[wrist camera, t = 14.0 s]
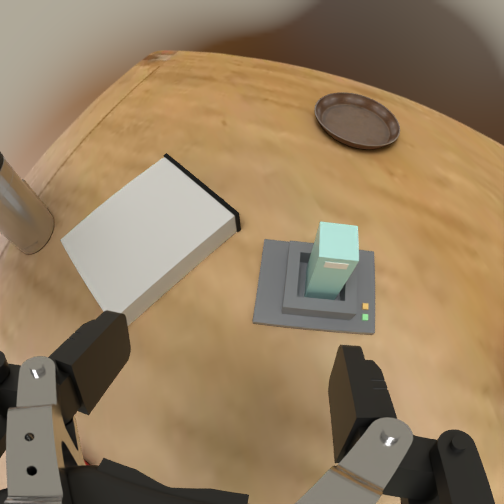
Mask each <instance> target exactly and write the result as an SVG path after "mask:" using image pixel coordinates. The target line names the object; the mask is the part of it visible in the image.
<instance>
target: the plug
mask: <svg viewBox="0 0 504 504" xmlns="http://www.w3.org/2000/svg"><path fill="white" fill-rule="evenodd" d="M358 262H359V243H358V226H353V225H345V224H336V223H327V222H320V224H319V227H318V231H317V234H316V238H315V241H314V245H313V248H312V252H311V255H310V259H309V262H308V265H307V269H306V279H305V293H304V297H308V298H318V299H328V300H335V298H336V297H337V295H338V294H339V292H340V291H341V289H342V288H343V286H344V284H345V283H346V281H347V280H348V278H349V276H350V275H351V273H352V272H353V270H354V268H355V267H356V265H357V263H358Z"/></svg>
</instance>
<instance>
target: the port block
mask: <svg viewBox="0 0 504 504" xmlns="http://www.w3.org/2000/svg"><path fill="white" fill-rule="evenodd" d="M313 245H314V243H307V242H298V241H290V242H286V241H277V240H268V239H265V240H264V247H263V254H262V261H261V268H260V275H259V282H258V289H257V295H256V302H255V309H254V316H253V324H260V325H269V326H277V327H286V328H295V329H305V330H316V331H327V332H339V333H352V334H367V335H373V334H374V333H375V266H374V252H373V251H364V250H359V262H358V263H357V265H356V267H355V268H354V270H353V272H352V273H351V275H350V276H349V278H348V280H347V281H346V283H345V284H344V286H343V288H342V289H341V291H340V292H339V294H338V295H337V297H336V298H335V300H328V299H318V298H308V297H304V293H305V279H306V269H307V265H308V262H309V259H310V255H311V252H312V248H313Z"/></svg>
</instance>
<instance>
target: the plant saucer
mask: <svg viewBox="0 0 504 504" xmlns="http://www.w3.org/2000/svg"><path fill="white" fill-rule="evenodd" d="M315 115H316V117H317V119H318V121H319V123H320V124H321V126H322V127H323V128H324V129H325V131H326V132H327V133H328V134H330V135H331V136H332V137H333V138H335V139H336V140H338V141H339V142H341V143H343V144H346V145H348V146H351V147H355V148H360V149H376V148H380V147H383V146H386V145H388V144H390V143H392V142H394V141H395V140H396V139H397V138H398V136H399V134H400V126H399V123H398V121H397V119H396V118H395V116H394V115H393V114H392V113H391V112H390V111H389V110H388V109H387V108H386V107H385V106H383V105H382V104H380V103H379V102H377V101H375V100H373V99H370V98H368V97H365V96H362V95H358V94H353V93H332V94H328V95H326V96H324V97H322V98H321V99H319V100H318V102H317V103H316V105H315Z"/></svg>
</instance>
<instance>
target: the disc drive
mask: <svg viewBox="0 0 504 504" xmlns="http://www.w3.org/2000/svg"><path fill="white" fill-rule="evenodd" d="M240 230H241V226H240V218H239V213H238V212H237V211H236V210H235V209H234V208H232V207H231V206H230V205H229V204H228V203H226V202H225V201H224V200H223V199H222V198H220V197H219V196H218V195H217V194H216V193H214V192H213V191H212V190H211V189H210V188H208V187H207V186H206V185H205V184H204V183H202V182H201V181H200V180H199V179H197V178H196V177H195V176H194V175H193V174H191V173H190V172H189V171H188V170H186V169H185V168H184V167H183V166H182V165H180V164H179V163H178V162H177V161H175V160H174V159H173V158H172V157H170V156H169V155H168V154H167V153H166V154H165V155H164V158H162V159H161V160H159V161H158V162H157V163H155V164H154V165H152V166H151V167H150V168H148V169H147V170H146V171H144V172H143V173H141V174H140V175H139V176H137V177H136V178H135V179H133V180H132V181H131V182H129V183H128V184H127V185H125V186H124V187H123V188H122V189H120V190H119V191H118V192H116V193H115V194H114V195H113V196H111V197H110V198H109V199H108V200H106V201H105V202H104V203H103V204H101V205H100V206H99V207H98V208H97V209H95V210H94V211H93V212H92V213H91V214H89V215H88V216H87V217H86V218H85V219H84V220H82V221H81V222H80V223H79V224H78V225H77V226H75V227H74V228H73V229H72V230H71V231H70V232H69V233H68V234H66V235H65V236H64V237H63V238H62V239H61V240H60V241H61V242H62V244H63V246H64V248H65V250H66V251H67V253H68V255H69V257H70V258H71V260H72V262H73V264H74V265H75V267H76V269H77V270H78V272H79V274H80V275H81V277H82V279H83V280H84V282H85V284H86V285H87V287H88V288H89V290H90V291H91V293H92V295H93V296H94V298H95V299H96V301H97V302H98V304H99V305H100V307H101V308H102V310H103V311H106V310H109V311H113V312H118V313H123V314H125V316H126V319H127V326H129V325H130V324H131V323H132V322H133V321H134V320H135V319H137V318H138V317H139V316H140V315H141V314H142V313H143V312H144V311H146V310H147V309H148V308H149V307H150V306H151V305H152V304H153V303H155V302H156V301H157V300H158V299H159V298H160V297H161V296H163V295H164V294H165V293H166V292H167V291H168V290H169V289H171V288H172V287H173V286H174V285H175V284H176V283H177V282H179V281H180V280H181V279H182V278H183V277H184V276H185V275H187V274H188V273H189V272H190V271H191V270H192V269H194V268H195V267H196V266H197V265H198V264H199V263H201V262H202V261H203V260H204V259H205V258H206V257H207V256H209V255H210V254H211V253H212V252H213V251H214V250H216V249H217V248H218V247H219V246H220V245H222V244H223V243H224V242H225V241H226V240H227V239H229V238H230V237H231V236H232V235H233V234H234V233H236V232H239V231H240Z"/></svg>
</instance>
